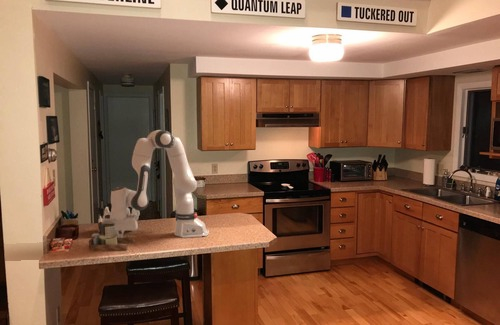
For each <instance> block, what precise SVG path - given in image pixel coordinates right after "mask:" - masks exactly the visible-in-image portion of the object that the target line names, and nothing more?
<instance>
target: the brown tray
mask: <svg viewBox="0 0 500 325" xmlns="http://www.w3.org/2000/svg"><path fill="white" fill-rule="evenodd" d="M94 238H95V237H91V238H90V239H89V240H88V249H89V252H90V251H93V252H94V251H97V252H98V251H99V252H100V251H106V252H107V251H127V250H128V243H131V244H133V243H135V237H134V236H123V237H122V238H118V236H117V245H94V244H93V239H94ZM120 243H121V244H120ZM122 243H123V244H122ZM125 243H126V244H125Z"/></svg>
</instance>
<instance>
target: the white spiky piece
mask: <svg viewBox="0 0 500 325" xmlns="http://www.w3.org/2000/svg"><path fill="white" fill-rule="evenodd" d="M130 210H131V211H130ZM109 212H111V211H110V210H109V207H108V206H105V208H104V210H103V215H105V214H106V213H109ZM127 214H130V215H133V214H134V215H136V216H137V218H138V220H139V216H140V215H141V213H140V211H139V210H136V209H134V208H132V209H130V208H129V207H127ZM102 220H103V217H102V216H101V215H99V218H98V223H99V222H102Z"/></svg>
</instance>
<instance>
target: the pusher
mask: <svg viewBox="0 0 500 325" xmlns="http://www.w3.org/2000/svg"><path fill="white" fill-rule="evenodd" d="M93 237H95V238H94V239H93V244H94V245H99V232H98V233H92V235H91V238H93Z"/></svg>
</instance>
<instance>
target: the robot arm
mask: <svg viewBox="0 0 500 325" xmlns="http://www.w3.org/2000/svg"><path fill="white" fill-rule="evenodd" d="M155 149H165V151H166V154H167V157H168V161H169V165H170V168H171V171H172V172H173V174H174V177H172V185H173V190H174V196H175V207H176V212H175V222H176V223H175V230H174V236H176V237H180V238H182V239H186V238H201V237H202V236H205V237H208V236H209V235H208V234H210V230H209V229H208V228H207V226H206V224H205V222H204V221H202V220H201V219H199V218H198V214H197V212H195V210H194V198H193V195H192V193H193V192H195V191H196V189H197V188H198V182H197V180H196V179H195V175H194V174H193V170H192V169H191V167H190V164H189V161H188V159H187V158H188V157H187V154H186V150H185V146H184V144H183V143H182V140H181V139H180V138H179V137H178V136H173V135H172V134H171V132H170V131H168V130H164V129H157V130H153V131H150V132H149V133H148V134H147V135H146V136H145V137H141V138H139V139H138V140H137V141H136V143H135V146H134V149H133V152H132V156H131V165H132V168H133V169H134V171H135V172H136V173H137V175H138V181H137V189H136V190H133V189H129V188H127V187H126V186H116V187H114V188H112V190H111V192H110V204H111V209H110V210H111V211H110V212H109V213H106V214H105V215H104V214H103V216H102V219H103V220H102V224H115V225H114V230H115V231H116V234H117V237H118V238H122V237H124V233H125V231H137V230H138V228H139V226H138V225H139V224H138V220H139V219H138V218H137V216H136V215H134V214H133V215H130V214H131V213H130V214H127V207H128V208H129V207H130V208H132V209H133V208H134V209H136V210H139V212H140V211H143V210H145V209H146V208H147V207H148V206H149V204H150V203H149V202H150V198H149V190H150V189H149V188H150V180H151V163H152V158H153V154H154V153H153V152H154V151H155ZM202 238H203V237H202Z"/></svg>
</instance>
